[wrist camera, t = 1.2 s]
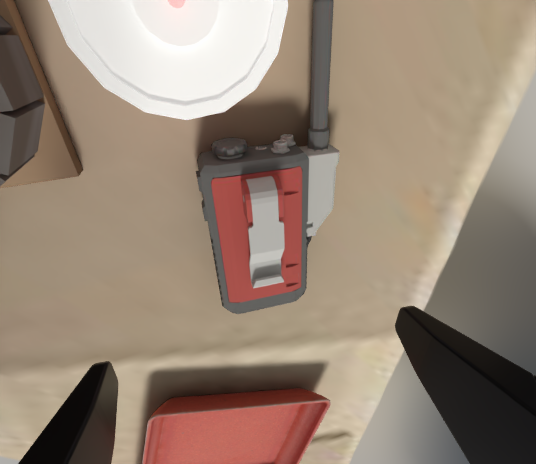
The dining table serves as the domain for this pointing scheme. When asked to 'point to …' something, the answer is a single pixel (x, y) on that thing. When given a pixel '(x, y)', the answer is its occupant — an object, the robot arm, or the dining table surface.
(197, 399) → the plant saucer
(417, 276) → the dining table surface
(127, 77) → the beverage cup
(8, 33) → the cup holder
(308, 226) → the walkie-talkie
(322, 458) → the dining table surface
